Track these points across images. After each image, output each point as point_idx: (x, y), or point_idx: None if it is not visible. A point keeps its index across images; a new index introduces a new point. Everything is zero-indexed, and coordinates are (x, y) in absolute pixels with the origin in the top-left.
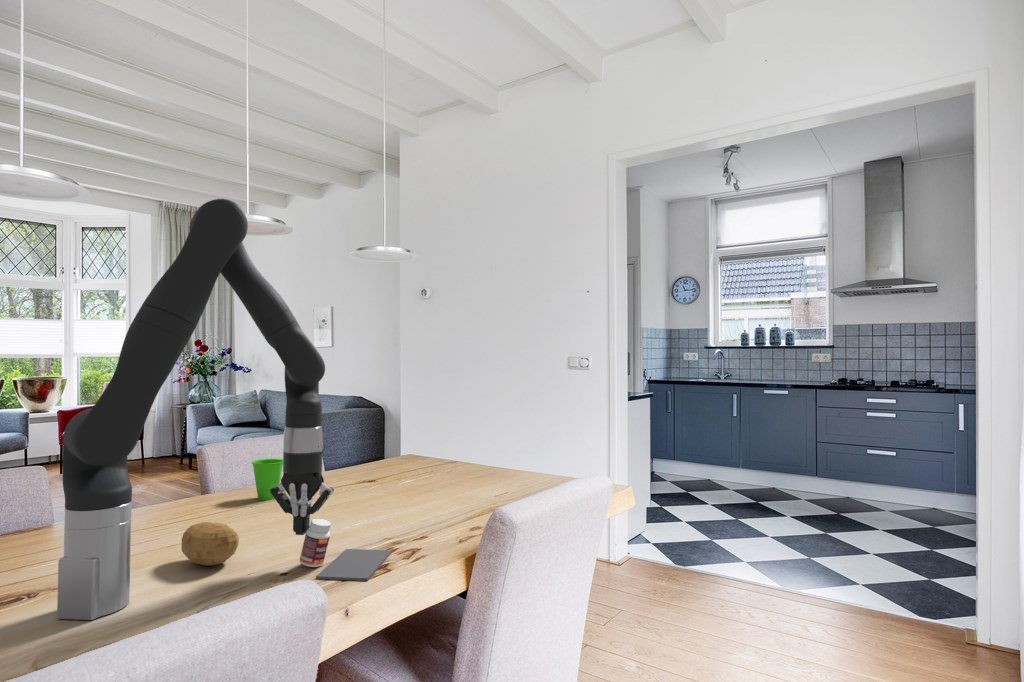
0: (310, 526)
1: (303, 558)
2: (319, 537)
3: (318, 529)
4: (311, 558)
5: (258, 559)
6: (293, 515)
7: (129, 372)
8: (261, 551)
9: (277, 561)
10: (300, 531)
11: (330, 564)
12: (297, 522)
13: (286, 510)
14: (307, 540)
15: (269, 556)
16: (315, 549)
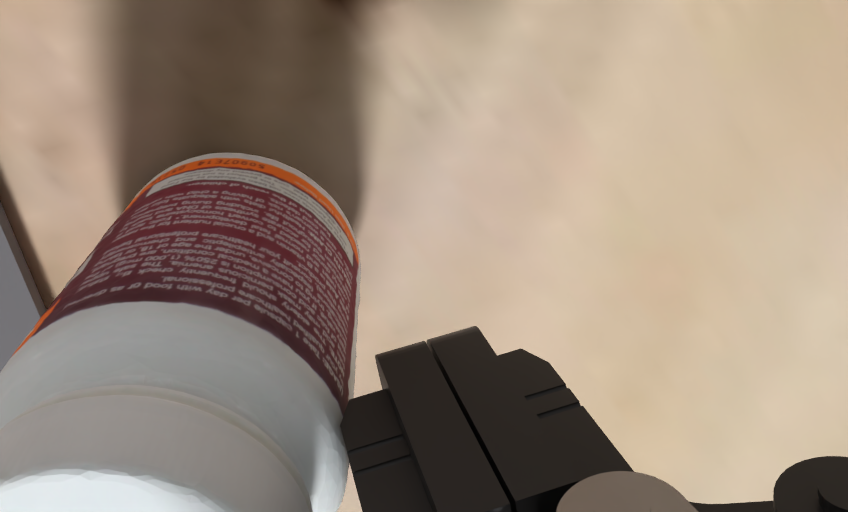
0: (219, 433)
1: (255, 174)
2: (25, 352)
3: (30, 427)
4: (155, 195)
5: (765, 210)
6: (639, 481)
7: None
8: (822, 356)
9: (596, 227)
10: (412, 364)
11: (10, 289)
12: (508, 429)
13: (844, 488)
14: (223, 274)
15: (716, 295)
16: (101, 251)
